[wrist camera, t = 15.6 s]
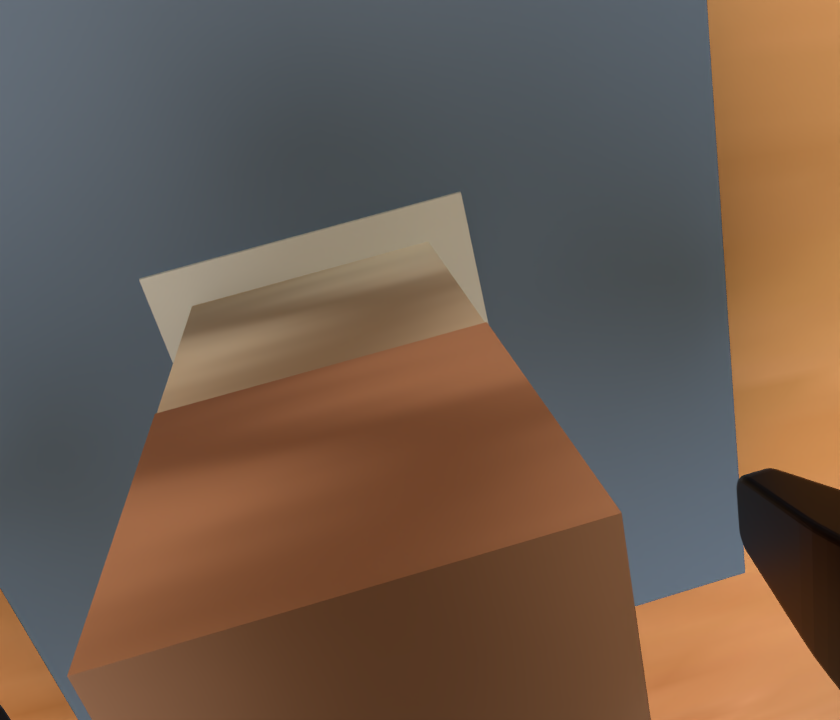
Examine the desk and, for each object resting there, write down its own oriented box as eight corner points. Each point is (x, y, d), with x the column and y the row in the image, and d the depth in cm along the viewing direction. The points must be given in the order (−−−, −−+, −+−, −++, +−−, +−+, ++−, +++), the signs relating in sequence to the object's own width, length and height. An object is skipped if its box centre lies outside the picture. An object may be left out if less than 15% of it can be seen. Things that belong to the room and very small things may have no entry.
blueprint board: (115, 733, 19) (106, 771, 18) (-271, 55, 12) (-319, 57, 11) (724, 547, 20) (747, 575, 19) (666, -177, 13) (697, -193, 12)
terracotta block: (261, 664, 12) (249, 993, 8) (155, 413, 10) (66, 676, 6) (539, 580, 12) (670, 858, 8) (486, 321, 10) (620, 513, 6)
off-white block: (267, 503, 16) (262, 666, 12) (191, 305, 14) (154, 417, 10) (475, 443, 16) (540, 581, 12) (428, 241, 14) (486, 323, 10)
